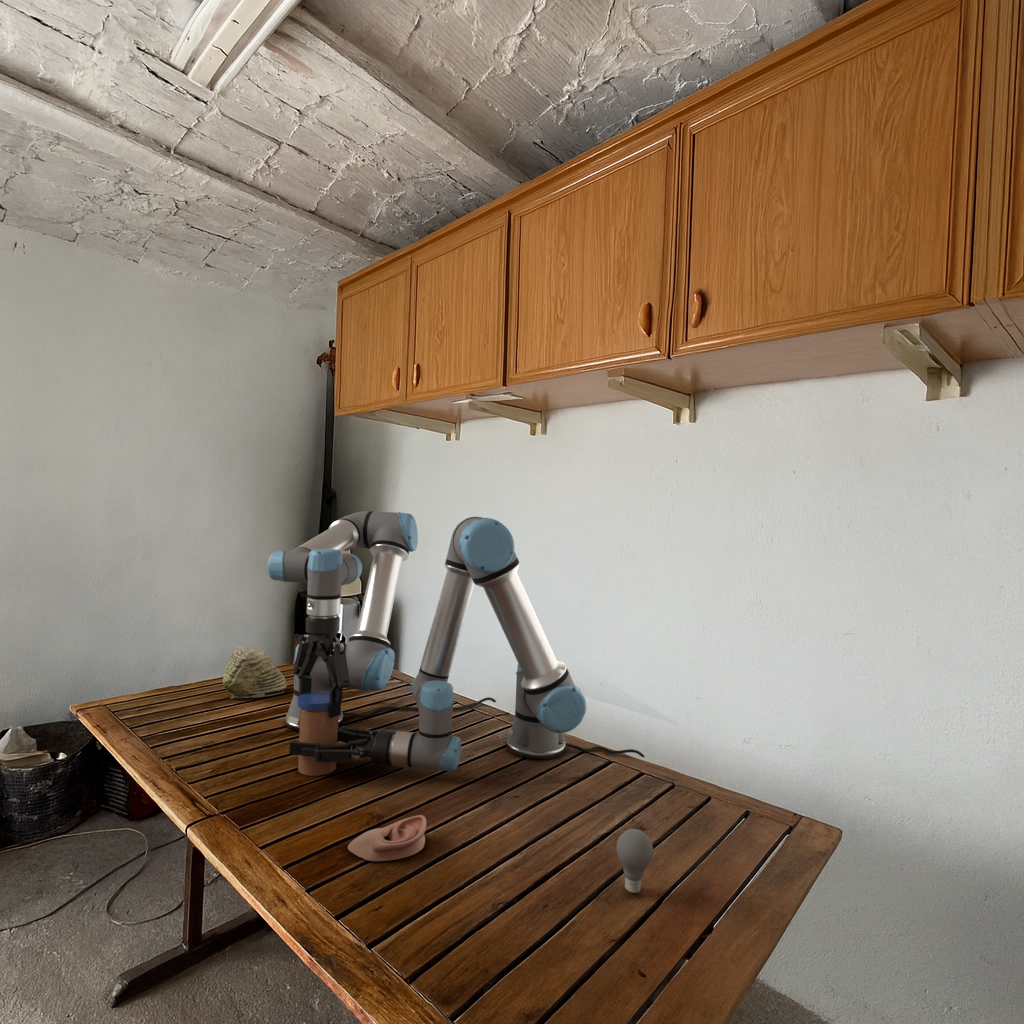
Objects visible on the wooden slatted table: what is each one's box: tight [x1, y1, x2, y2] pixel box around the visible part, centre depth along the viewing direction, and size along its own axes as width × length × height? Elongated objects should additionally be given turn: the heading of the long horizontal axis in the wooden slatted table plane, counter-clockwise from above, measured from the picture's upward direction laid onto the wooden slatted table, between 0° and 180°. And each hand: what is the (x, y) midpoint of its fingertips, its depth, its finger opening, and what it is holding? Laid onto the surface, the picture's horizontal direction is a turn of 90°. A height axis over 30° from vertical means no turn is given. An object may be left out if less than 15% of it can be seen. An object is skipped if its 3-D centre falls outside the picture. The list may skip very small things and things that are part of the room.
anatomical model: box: [347, 814, 427, 862], centre depth 116 cm, size 13×4×12 cm
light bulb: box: [615, 828, 654, 894], centre depth 106 cm, size 6×6×10 cm
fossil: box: [222, 646, 288, 699], centre depth 198 cm, size 9×18×15 cm, turn 132°
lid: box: [297, 691, 343, 711], centre depth 147 cm, size 10×10×2 cm
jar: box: [297, 708, 339, 777], centre depth 148 cm, size 9×9×16 cm
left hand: (319, 711), depth 148 cm, fingers closed on lid, 10 cm apart
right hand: (299, 740), depth 148 cm, fingers closed on jar, 9 cm apart
